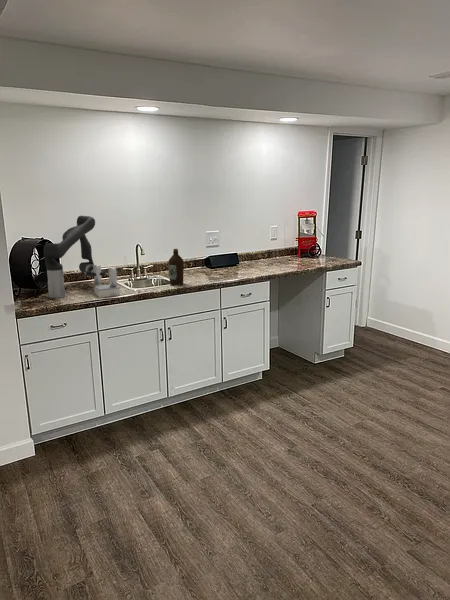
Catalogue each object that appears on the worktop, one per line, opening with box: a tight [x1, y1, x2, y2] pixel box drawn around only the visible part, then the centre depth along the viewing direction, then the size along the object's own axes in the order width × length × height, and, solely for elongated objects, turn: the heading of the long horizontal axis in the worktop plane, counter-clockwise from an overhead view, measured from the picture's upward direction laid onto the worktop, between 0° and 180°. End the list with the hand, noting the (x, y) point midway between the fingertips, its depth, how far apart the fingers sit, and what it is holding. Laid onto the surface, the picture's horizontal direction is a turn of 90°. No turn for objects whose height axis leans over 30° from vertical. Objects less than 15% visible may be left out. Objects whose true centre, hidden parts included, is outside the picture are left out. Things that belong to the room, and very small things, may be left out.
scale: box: [93, 283, 121, 298], centre depth 290 cm, size 13×12×5 cm
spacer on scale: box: [108, 267, 118, 288], centre depth 287 cm, size 5×5×12 cm
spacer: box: [93, 264, 103, 285], centre depth 296 cm, size 5×5×12 cm
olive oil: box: [167, 248, 185, 286], centre depth 316 cm, size 11×11×25 cm
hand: (98, 274), depth 294 cm, fingers closed on spacer, 4 cm apart
